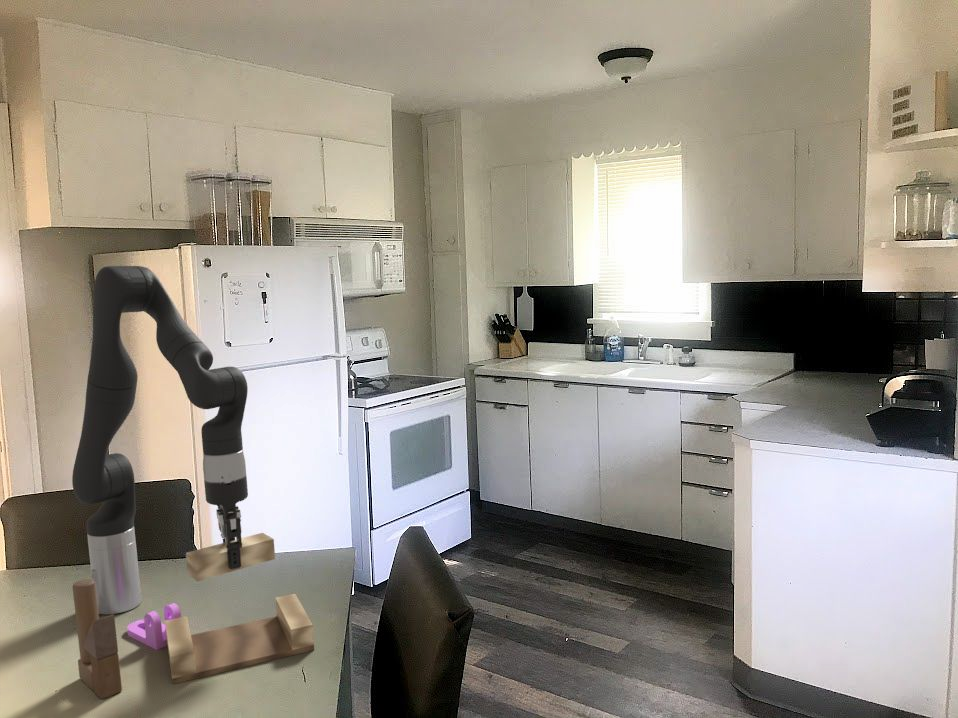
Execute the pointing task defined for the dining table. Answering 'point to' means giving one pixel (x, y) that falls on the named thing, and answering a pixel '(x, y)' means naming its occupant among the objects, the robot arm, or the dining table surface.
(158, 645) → the bracket
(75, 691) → the dining table surface
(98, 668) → the wooden block
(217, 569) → the oak plank
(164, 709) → the dining table surface
